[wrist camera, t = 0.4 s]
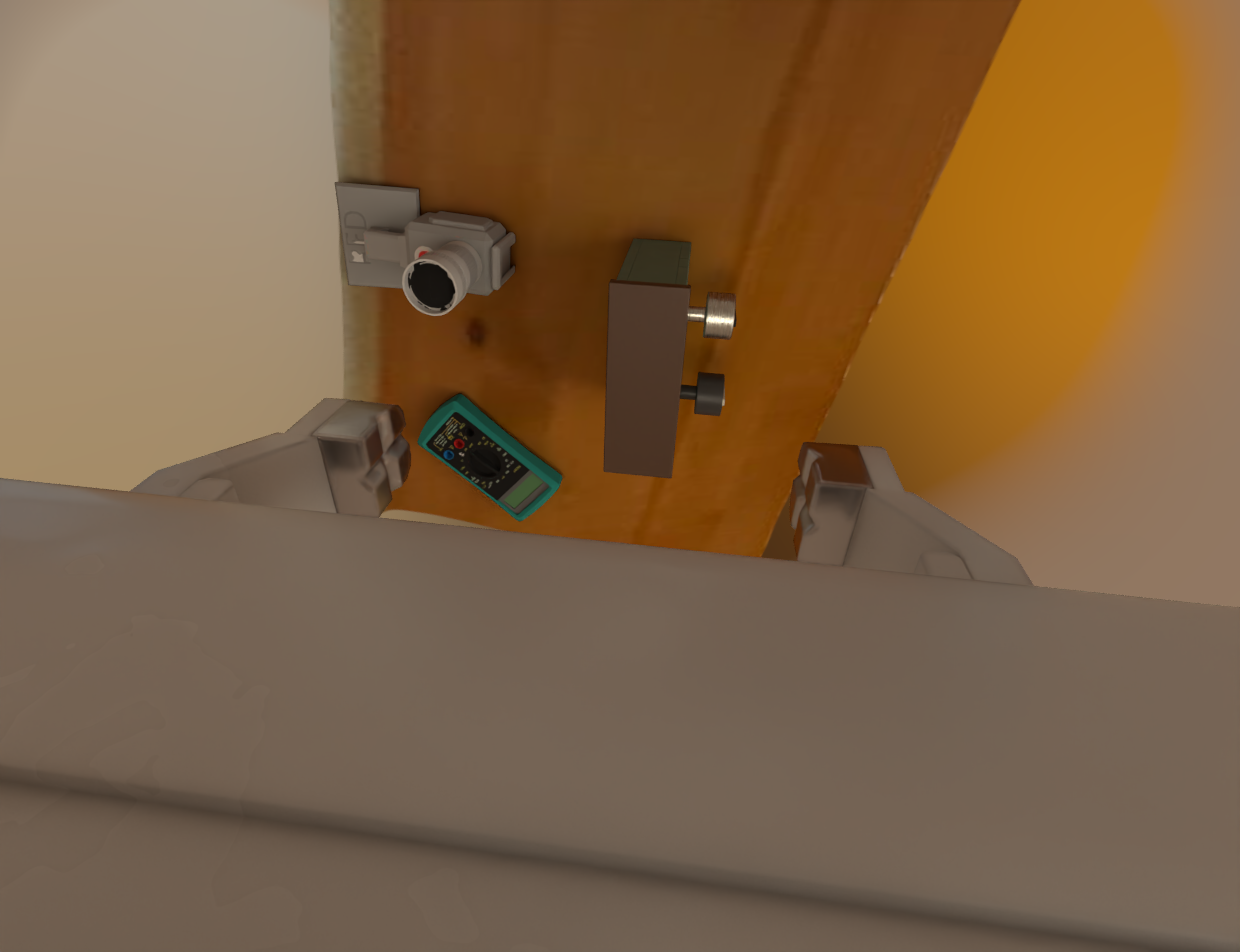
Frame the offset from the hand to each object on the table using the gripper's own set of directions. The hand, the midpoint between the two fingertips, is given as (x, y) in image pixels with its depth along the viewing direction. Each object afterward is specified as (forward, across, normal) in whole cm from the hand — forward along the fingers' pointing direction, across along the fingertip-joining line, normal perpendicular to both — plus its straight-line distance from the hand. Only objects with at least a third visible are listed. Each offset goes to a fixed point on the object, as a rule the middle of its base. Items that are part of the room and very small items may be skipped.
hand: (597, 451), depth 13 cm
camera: (+46, +22, +8) cm, 52 cm away
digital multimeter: (+46, +18, +30) cm, 58 cm away
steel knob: (+41, -3, +11) cm, 43 cm away
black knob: (+41, -3, +18) cm, 45 cm away
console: (+46, +1, +14) cm, 48 cm away
